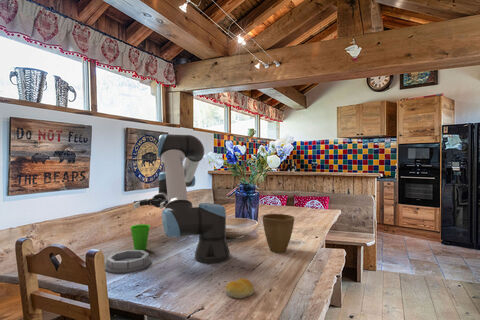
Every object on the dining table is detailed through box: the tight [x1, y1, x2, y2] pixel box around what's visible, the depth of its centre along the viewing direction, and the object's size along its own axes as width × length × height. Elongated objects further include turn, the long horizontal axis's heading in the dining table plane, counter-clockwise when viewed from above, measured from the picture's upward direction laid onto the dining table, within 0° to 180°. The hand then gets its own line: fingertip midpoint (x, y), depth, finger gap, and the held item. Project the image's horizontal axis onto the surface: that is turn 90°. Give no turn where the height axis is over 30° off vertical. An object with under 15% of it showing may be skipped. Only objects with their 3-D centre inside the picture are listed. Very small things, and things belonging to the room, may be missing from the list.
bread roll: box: [225, 278, 255, 299], centre depth 92 cm, size 8×9×4 cm
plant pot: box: [262, 213, 296, 254], centre depth 134 cm, size 15×15×16 cm
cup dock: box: [105, 249, 152, 274], centre depth 117 cm, size 18×18×4 cm
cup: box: [130, 223, 151, 251], centre depth 136 cm, size 9×9×11 cm
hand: (147, 206), depth 146 cm, fingers open, 13 cm apart
